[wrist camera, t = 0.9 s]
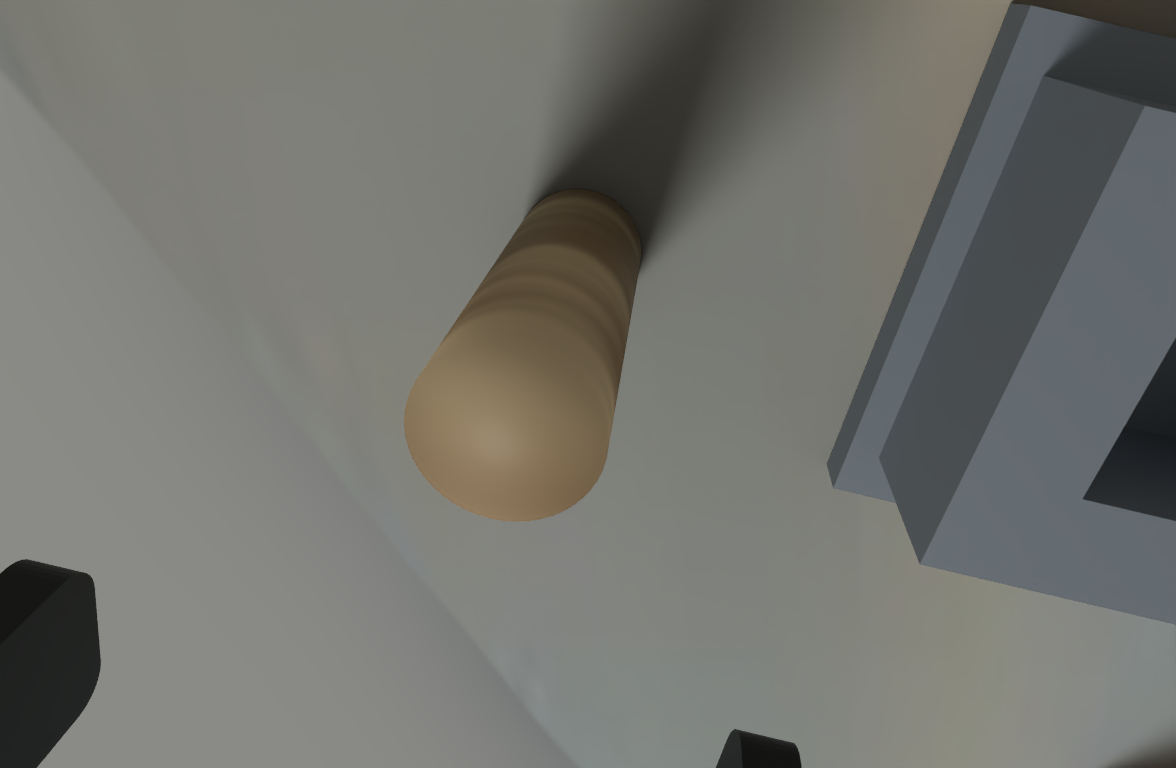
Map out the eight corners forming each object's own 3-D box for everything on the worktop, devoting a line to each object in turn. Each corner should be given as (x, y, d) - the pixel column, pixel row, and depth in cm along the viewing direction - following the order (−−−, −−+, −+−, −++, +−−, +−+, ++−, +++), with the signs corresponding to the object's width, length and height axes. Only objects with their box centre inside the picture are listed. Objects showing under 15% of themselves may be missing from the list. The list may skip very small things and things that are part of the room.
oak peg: (528, 176, 26) (415, 318, 15) (654, 205, 26) (629, 368, 15) (508, 294, 28) (394, 496, 17) (626, 321, 28) (585, 540, 17)
